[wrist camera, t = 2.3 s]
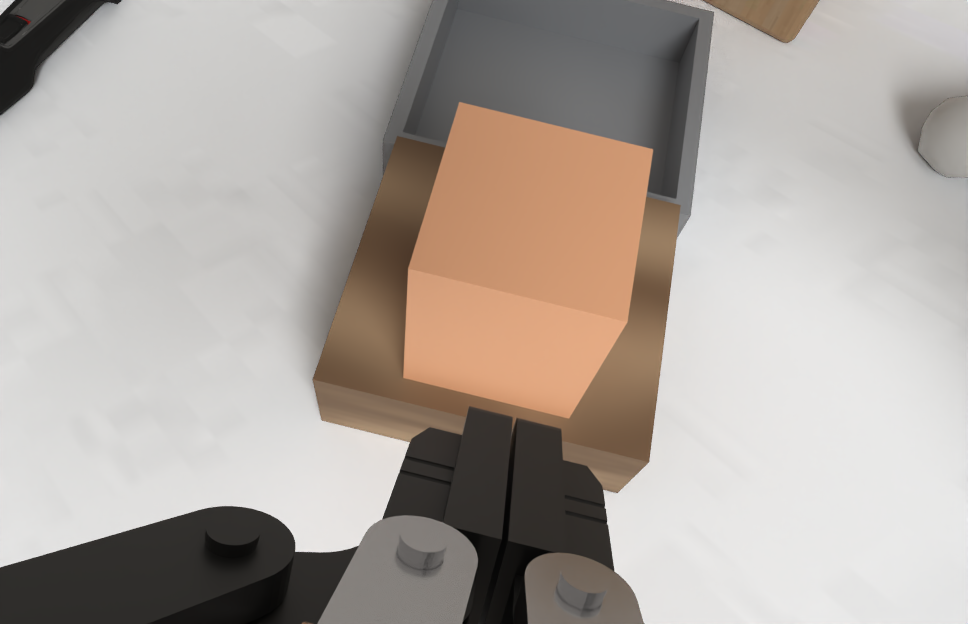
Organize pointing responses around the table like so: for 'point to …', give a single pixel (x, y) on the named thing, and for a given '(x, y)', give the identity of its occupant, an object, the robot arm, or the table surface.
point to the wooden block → (770, 15)
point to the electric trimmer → (35, 39)
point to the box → (567, 76)
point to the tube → (947, 138)
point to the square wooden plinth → (417, 406)
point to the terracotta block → (524, 260)
